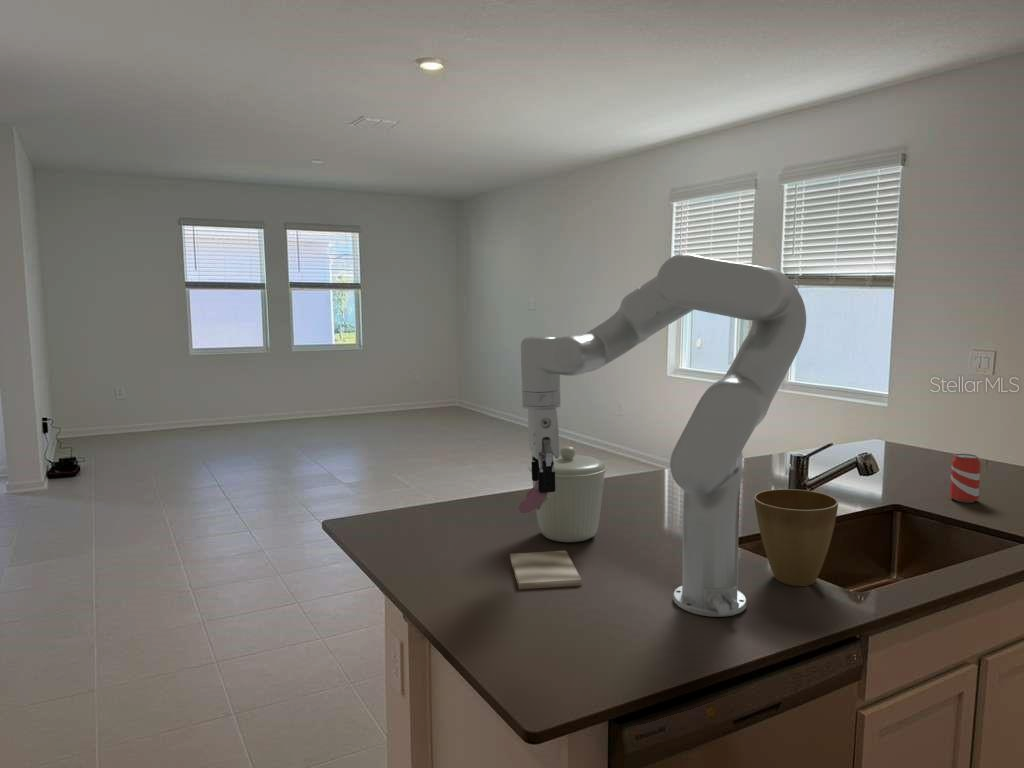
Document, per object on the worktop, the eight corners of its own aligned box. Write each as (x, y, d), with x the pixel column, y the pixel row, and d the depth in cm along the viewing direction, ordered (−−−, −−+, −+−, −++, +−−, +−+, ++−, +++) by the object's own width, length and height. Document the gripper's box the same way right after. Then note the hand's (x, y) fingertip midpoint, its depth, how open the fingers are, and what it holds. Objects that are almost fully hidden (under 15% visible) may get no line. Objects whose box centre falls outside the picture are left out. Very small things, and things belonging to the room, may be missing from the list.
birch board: (581, 585, 135) (581, 579, 135) (519, 589, 134) (519, 583, 134) (566, 555, 151) (565, 550, 151) (510, 559, 150) (510, 553, 149)
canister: (543, 553, 153) (542, 457, 151) (520, 527, 170) (518, 441, 168) (620, 544, 158) (620, 451, 155) (590, 520, 175) (589, 436, 173)
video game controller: (537, 522, 136) (552, 490, 135) (516, 511, 137) (531, 480, 135) (544, 507, 146) (559, 478, 144) (525, 497, 146) (539, 468, 145)
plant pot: (812, 563, 144) (815, 486, 142) (850, 593, 129) (854, 508, 128) (741, 565, 144) (742, 489, 142) (771, 596, 129) (773, 510, 127)
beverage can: (977, 504, 182) (979, 459, 181) (948, 501, 186) (950, 456, 184) (979, 499, 187) (981, 454, 185) (950, 495, 191) (953, 452, 189)
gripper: (568, 404, 130) (570, 496, 132) (552, 393, 147) (554, 474, 149) (528, 406, 129) (530, 498, 131) (516, 394, 146) (519, 476, 148)
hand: (543, 485), depth 140 cm, fingers closed on video game controller, 8 cm apart
